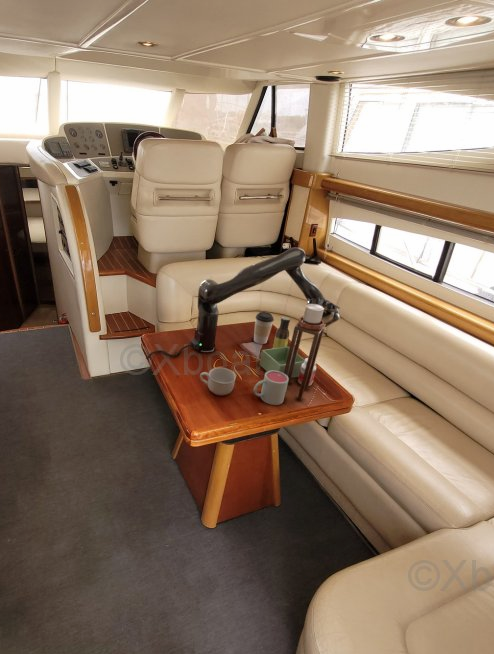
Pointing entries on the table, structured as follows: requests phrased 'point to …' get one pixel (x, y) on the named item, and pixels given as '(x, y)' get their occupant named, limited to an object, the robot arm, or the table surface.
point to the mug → (273, 387)
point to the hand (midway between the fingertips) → (320, 301)
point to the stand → (317, 332)
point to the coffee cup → (262, 327)
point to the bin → (279, 360)
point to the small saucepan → (313, 313)
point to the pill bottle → (304, 371)
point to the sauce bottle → (282, 333)
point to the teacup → (219, 380)
